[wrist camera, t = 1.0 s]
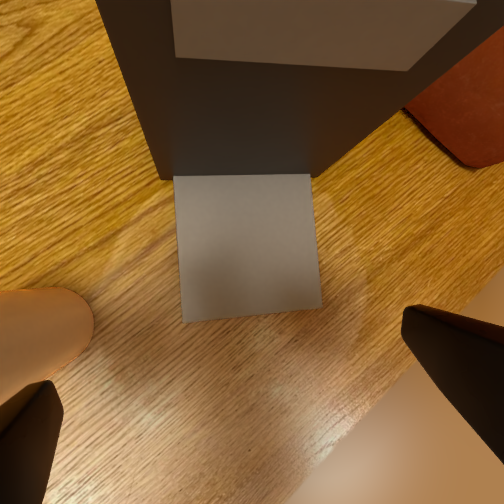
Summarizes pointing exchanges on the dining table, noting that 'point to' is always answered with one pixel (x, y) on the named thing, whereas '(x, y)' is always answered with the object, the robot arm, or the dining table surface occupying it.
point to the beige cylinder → (40, 334)
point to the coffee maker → (271, 121)
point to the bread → (468, 105)
